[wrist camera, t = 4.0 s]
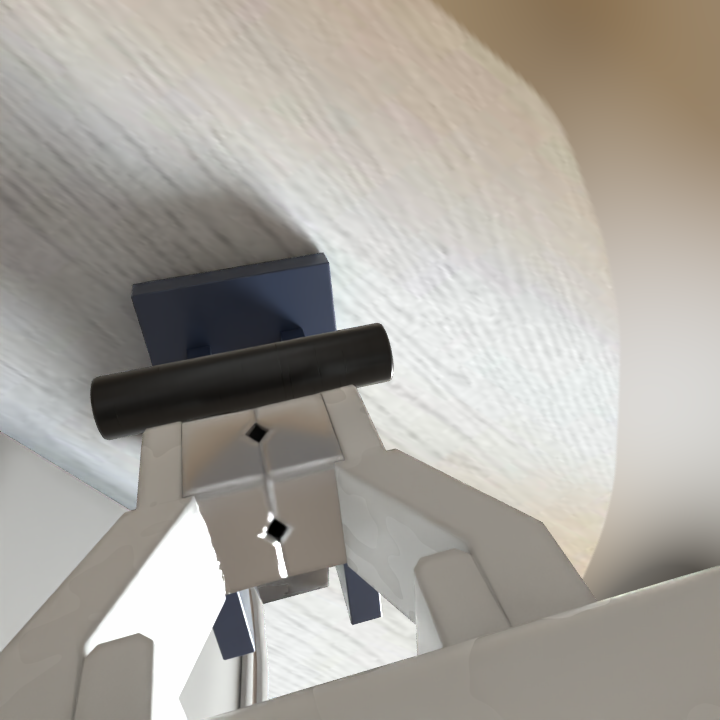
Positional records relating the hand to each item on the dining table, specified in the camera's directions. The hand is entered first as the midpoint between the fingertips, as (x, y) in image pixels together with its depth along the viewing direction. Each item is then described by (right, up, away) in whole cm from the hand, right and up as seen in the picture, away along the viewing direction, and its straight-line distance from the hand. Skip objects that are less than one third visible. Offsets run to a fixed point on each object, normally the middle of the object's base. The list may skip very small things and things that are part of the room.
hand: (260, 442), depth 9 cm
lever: (-1, -1, +7) cm, 7 cm away
